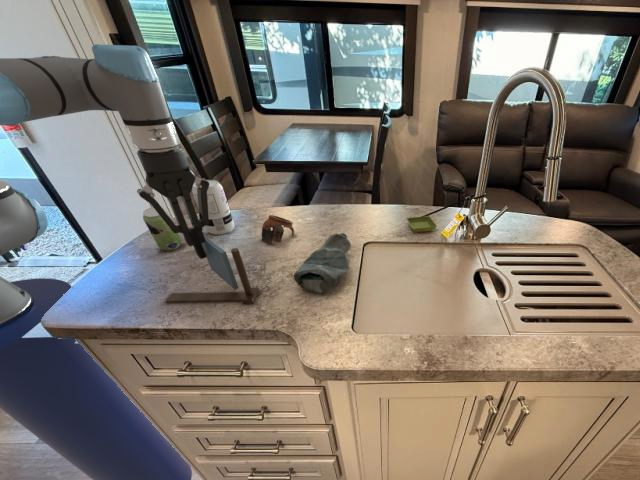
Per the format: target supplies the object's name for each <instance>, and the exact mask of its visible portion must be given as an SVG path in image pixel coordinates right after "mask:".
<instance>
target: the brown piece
mask: <svg viewBox="0 0 640 480" xmlns="http://www.w3.org/2000/svg"><path fill="white" fill-rule="evenodd" d="M293 224H294V223H293V222H292V221H291V220H289V219H287V218H284V217H281V216H277V215H273V214H269V215H268V218H267V219H266V220H265V221H264V222H263V223H262V226H261V241H262V242H263V243H265V244H268V245H273V242H275V243H281V242H282V240H283V235H284V232H285V230H284V229H285V228H287V229H289V230H290V231H291V236H292V237H294V236H295V229H294V227H293Z"/></svg>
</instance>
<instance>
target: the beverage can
mask: <svg viewBox="0 0 640 480" xmlns="http://www.w3.org/2000/svg"><path fill="white" fill-rule="evenodd" d="M163 210H164V211H165V212H166V214H167V215H168V216H169V217H170V219H171V220H172V217H171V216H170V213H169V212H168V211H167V210H165V209H164V208H163ZM142 214H143V215H142V219H143V222H144V223H145V225H146V227H147V228H148V231H149V232H150V234H151V236H152V238H153V239H154V241H155V243H156V245H157V247H158V248H159V249H160V250H163V251H173V250H176V249H178V248H179V247H180V246H181V245H182V243H183V241H182V239H181V236H180V233H174V232H173V231H172V230H171V229H170V228H169V226H168V225H167V224H166V223H165V221H164V220H163V219H162V218H161V216H160V215H159V214H158V213H157V211H156V210H155V209H154V208H153V206H152V207H149V208H146V209H145V210H144V211H143V213H142Z"/></svg>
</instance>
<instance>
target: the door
mask: <svg viewBox="0 0 640 480" xmlns="http://www.w3.org/2000/svg"><path fill="white" fill-rule="evenodd" d="M203 235H204V237H205V242H204V243H201V244H202V246H203V249H204V251H205V254H206V260H207V262H208V265H209V267H210V270H211V271H212V272H214V273H215V274H216V275H217V276H218V277H219V278H220V279H222V280H223V281H224V282H225V283H226V284H227V285H228V286H229V287H231V288H232V290H234V291H236V290H238V289H239V285H238V282H237V279H236V275H235V273H234V271H233V268H232V265H231V263H230V259H229V257H228V254H227V251H225V249H223V248H222V247H221V246H219V245H218V244H217V243H215V241H213V240H212V239H210V238H209V237H208V236H207V235H205V234H204V233H203Z"/></svg>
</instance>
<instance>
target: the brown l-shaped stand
mask: <svg viewBox="0 0 640 480" xmlns="http://www.w3.org/2000/svg"><path fill="white" fill-rule="evenodd" d="M230 253H231V255H232V259H233V262H234V265H235V267H236V269H237V273H238V276H239V279H240V282H241V285H242V287H243V290H244V291H229V292H228V291H227V292H173V293H171V294H170V295H169V296H168V297H167V299H165V303H166V304H172V303H174V304H175V303H177V304H179V303H184V304H185V303H225V302H227V303H228V302H231V303H233V302H235V303H236V302H242V304H243V305H254V304H255V302H256V300H257V298H258V296H259V293H260V288H259V287H252V286H251V283H250V280H249V276H248V274H247V270H246V268H245V265H244V261H243V258H242V255H241V252H240V249H239V248H237V247H234V248H231V250H230Z"/></svg>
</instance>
